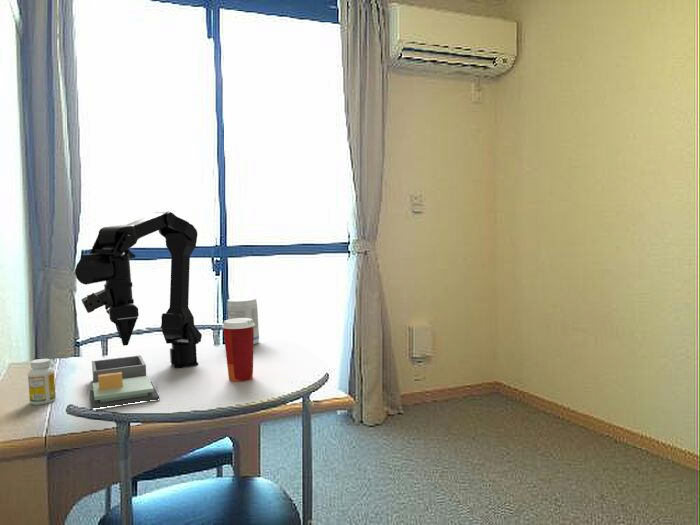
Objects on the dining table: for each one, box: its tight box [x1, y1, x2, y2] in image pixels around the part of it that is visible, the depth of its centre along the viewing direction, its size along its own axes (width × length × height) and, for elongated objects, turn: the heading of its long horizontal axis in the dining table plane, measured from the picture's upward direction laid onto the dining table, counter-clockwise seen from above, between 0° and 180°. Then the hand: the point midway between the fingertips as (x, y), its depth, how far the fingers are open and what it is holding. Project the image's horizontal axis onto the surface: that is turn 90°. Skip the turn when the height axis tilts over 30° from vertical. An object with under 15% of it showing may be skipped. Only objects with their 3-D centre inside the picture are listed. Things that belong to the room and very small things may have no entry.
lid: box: [92, 372, 154, 402], centre depth 138 cm, size 12×12×5 cm
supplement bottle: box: [27, 358, 57, 406], centre depth 136 cm, size 5×5×10 cm
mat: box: [89, 380, 160, 409], centre depth 138 cm, size 14×14×1 cm
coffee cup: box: [221, 318, 255, 383], centre depth 151 cm, size 8×8×15 cm
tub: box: [91, 355, 147, 384], centre depth 151 cm, size 12×12×5 cm
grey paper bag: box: [227, 296, 260, 346], centre depth 193 cm, size 10×10×15 cm
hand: (123, 341), depth 146 cm, fingers open, 9 cm apart
